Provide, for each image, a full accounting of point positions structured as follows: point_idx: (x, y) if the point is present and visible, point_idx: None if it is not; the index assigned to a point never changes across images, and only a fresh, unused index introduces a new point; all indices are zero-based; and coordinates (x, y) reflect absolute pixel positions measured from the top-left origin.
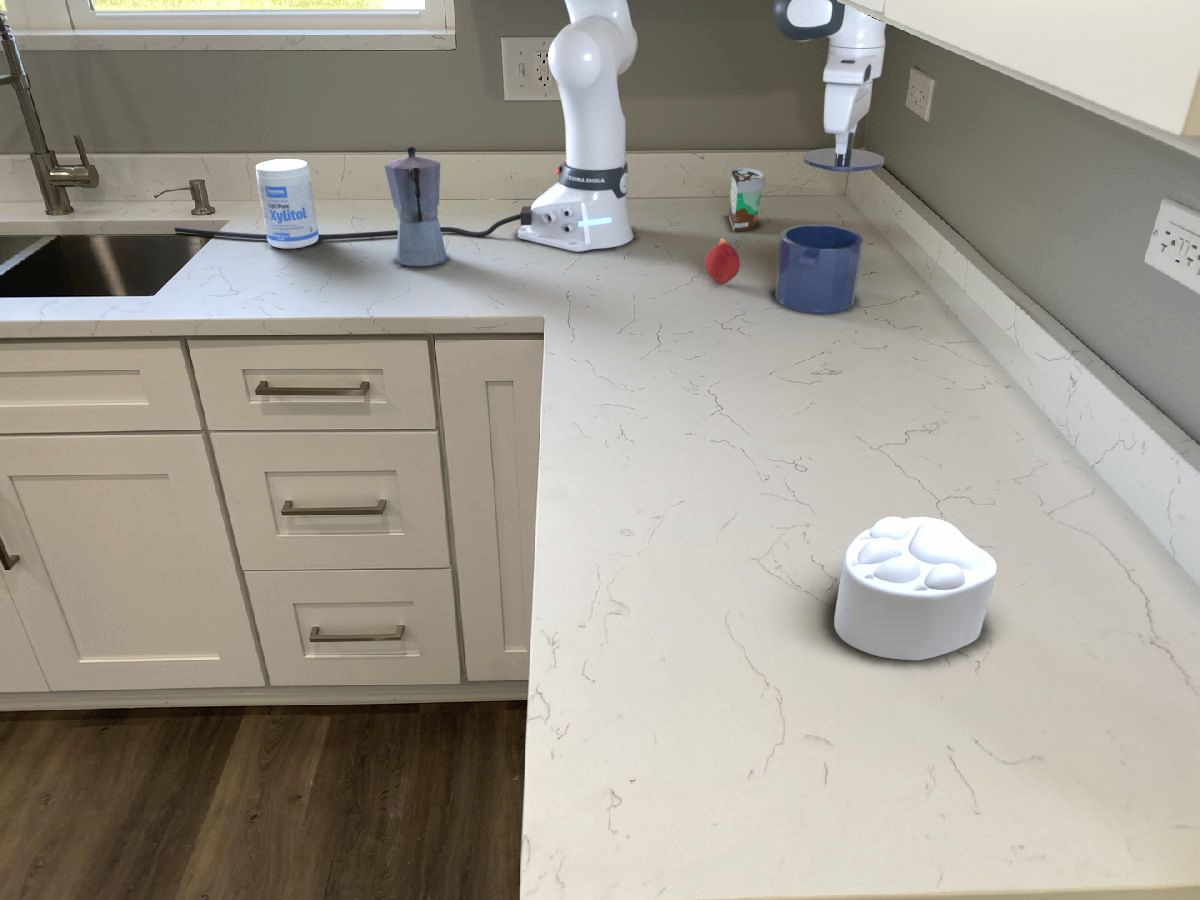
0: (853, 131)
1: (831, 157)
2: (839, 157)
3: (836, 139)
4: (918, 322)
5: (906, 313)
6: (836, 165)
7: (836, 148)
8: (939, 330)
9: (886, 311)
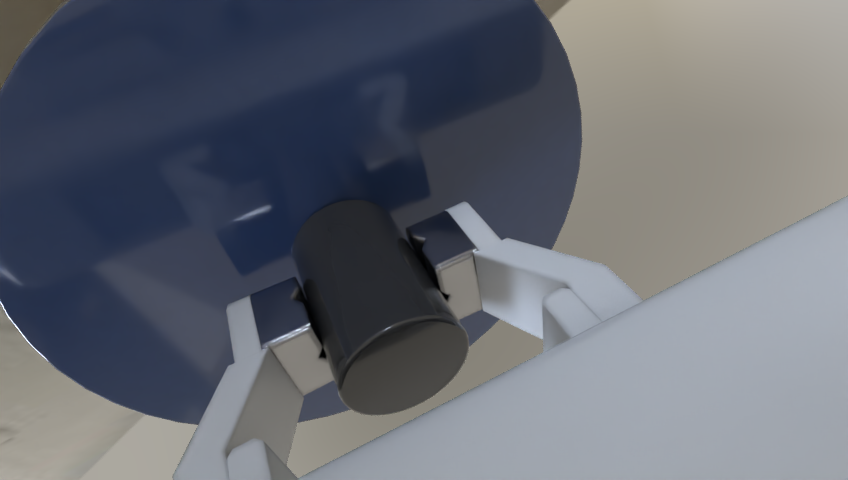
0: (527, 326)
1: (283, 200)
2: (294, 258)
3: (211, 408)
4: (38, 419)
5: (60, 383)
6: (98, 357)
7: (233, 330)
8: (45, 453)
9: (19, 361)
